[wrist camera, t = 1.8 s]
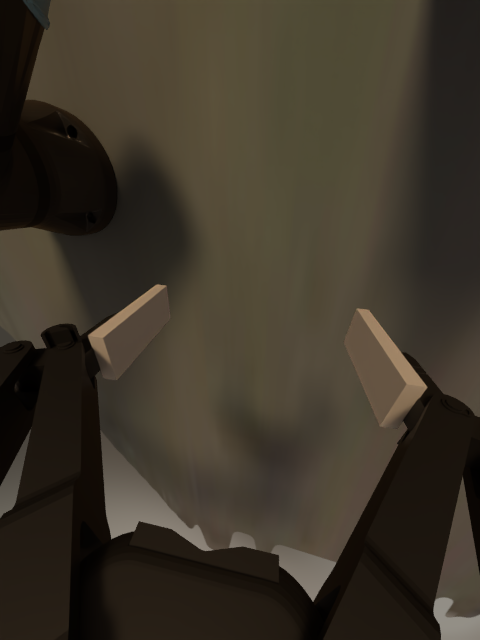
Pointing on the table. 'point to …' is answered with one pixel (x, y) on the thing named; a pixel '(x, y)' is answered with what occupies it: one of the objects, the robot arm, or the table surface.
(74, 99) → the table surface
